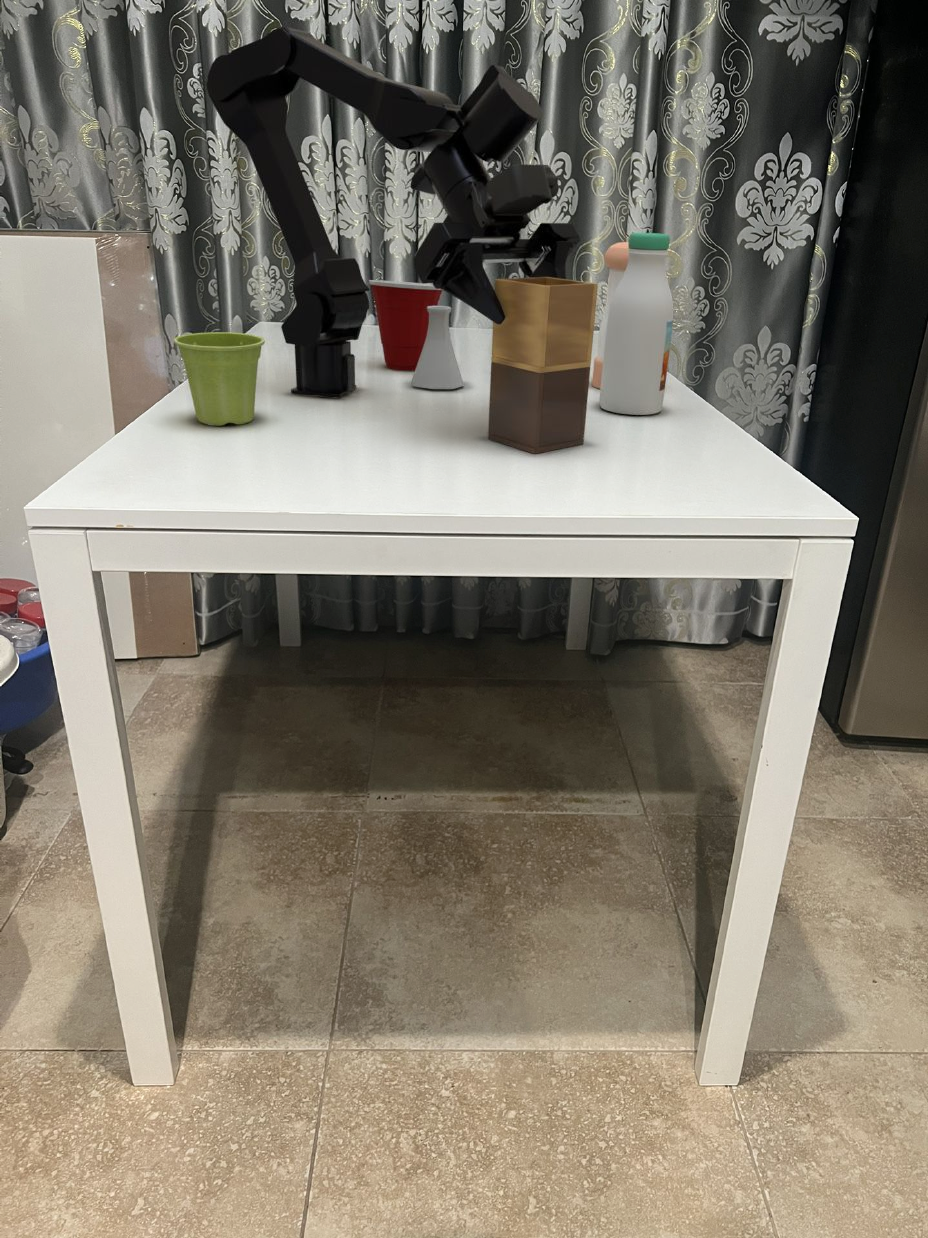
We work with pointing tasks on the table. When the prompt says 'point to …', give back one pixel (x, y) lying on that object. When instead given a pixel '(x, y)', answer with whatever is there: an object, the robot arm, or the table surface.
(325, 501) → the table surface
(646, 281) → the milk bottle
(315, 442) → the table surface
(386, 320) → the plastic cup
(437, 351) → the flask
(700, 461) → the table surface
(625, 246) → the pepper shaker
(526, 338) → the light brown open box
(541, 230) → the robot arm
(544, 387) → the box
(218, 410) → the plant pot
